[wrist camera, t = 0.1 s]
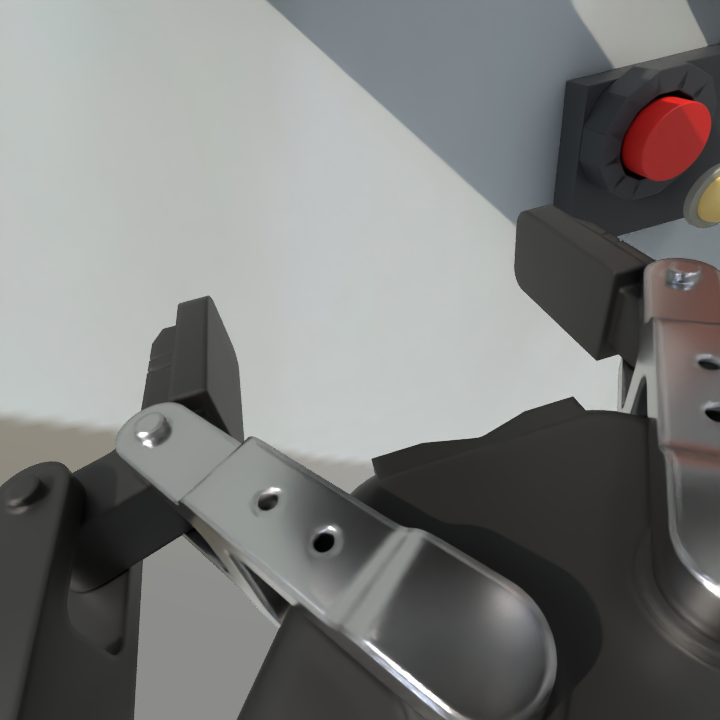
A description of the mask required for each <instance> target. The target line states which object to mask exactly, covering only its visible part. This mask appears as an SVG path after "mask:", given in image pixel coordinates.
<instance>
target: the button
mask: <svg viewBox="0 0 720 720" xmlns="http://www.w3.org/2000/svg"><path fill="white" fill-rule="evenodd" d="M710 130H711V116H710V112H709V110H708V109H707V108H706V106H705V105H703V104H702V103H699V102H696V101H691V100H687V99H682V98H678V97H673V96H667V97H662V98H659V99H657V100H655V101H653V102H651V103H650V104H648V105H647V106H646V107H644V108H643V109H642V110H641V111H640V112H639V113H638V114H637V115H636V117H635V118H634V119H633V121H632V123H631V124H630V126H629V128H628V129H627V131H626V133H625V136H624V139H623V143H622V149H621V154H622V160H623V163H624V165H625V166H626V167H627V168H628V169H629V170H630V171H632V172H634V173H637V174H639V175H641V176H644V177H646V178H648V179H651V180H654V181H665V180H669V179H672V178H674V177H676V176H677V175H679V174H681V173H682V172H683V171H685V170H686V169H687V168H688V167H689V166H690V165H691V164H692V163H693V162H694V161H695V160H696V159H697V157H698V156H699V155H700V153H701V151H702V150H703V148H704V146H705V144H706V142H707V140H708V137H709V134H710Z"/></svg>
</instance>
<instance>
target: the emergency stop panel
mask: <svg viewBox="0 0 720 720" xmlns="http://www.w3.org/2000/svg"><path fill="white" fill-rule="evenodd" d="M667 96H673V97H678V98H682V99H687V100H691V101H696V102H699V103H702V104H703V105H705V106H706V108H707V109H708V110H709V112H710V116H711V130H710V134H709V137H708V140H707V142H706V144H705V146H704V148H703V150H702V151H701V153H700V155H699V156H698V157H697V159H696V160H695V161H694V162H693V163H692V164H691V165H690V166H689V167H688V168H687V169H686V170H685V171H683V172H682V173H681V174H679V175H677V176H676V177H674V178H672V179H669V180H665V181H654V180H651V179H648V178H646V177H644V176H641V175H639V174H637V173H634V172H632V171H630V170H629V169H628V168H627V167H626V166H625V165H624V163H623V160H622V154H621V149H622V143H623V139H624V136H625V133H626V131H627V129H628V128H629V126H630V124H631V123H632V121H633V119H634V118H635V117H636V115H637V114H638V113H639V112H640V111H641V110H642V109H643V108H644V107H646V106H647V105H648V104H650V103H651V102H653V101H655V100H657V99H659V98H662V97H667ZM719 163H720V44H716V45H711V46H707V47H703V48H699V49H695V50H691V51H687V52H683V53H679V54H675V55H671V56H667V57H663V58H659V59H655V60H650V61H646V62H642V63H638V64H634V65H630V66H626V67H622V68H618V69H614V70H610V71H606V72H602V73H598V74H594V75H589V76H585V77H581V78H577V79H573V80H569V81H567V84H566V93H565V102H564V112H563V121H562V130H561V139H560V149H559V158H558V167H557V176H556V186H555V195H554V204H553V205H554V206H556V207H557V208H559V209H560V210H562V211H564V212H565V213H567V214H568V215H570V216H572V217H573V218H577V219H580V220H584V221H587V222H591V223H594V224H596V225H597V226H599V227H601V228H602V229H604V230H606V231H607V232H608V234H612V235H614V236H620V235H623V234H627V233H630V232H634V231H637V230H641V229H645V228H648V227H652V226H655V225H659V224H663V223H666V222H670V221H673V220H677V219H680V218H684V215H683V206H684V202H685V199H686V196H687V194H688V192H689V191H690V189H691V187H692V186H693V185H694V183H695V182H696V181H697V180H698V179H699V177H700V176H701V175H703V174H704V173H705V172H706V171H707V170H709V169H710V168H712V167H713V166H715V165H717V164H719Z"/></svg>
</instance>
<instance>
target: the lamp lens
mask: <svg viewBox="0 0 720 720" xmlns="http://www.w3.org/2000/svg"><path fill="white" fill-rule="evenodd" d="M683 215H684V218H685V220H686V221H687V222H688V223H689V224H691V225H693V226H696V227H698V228H707V227H711V226H714V225H716V224H718V223H720V163H719V164H717V165H715V166H713V167H712V168H710V169H709V170H707V171H706V172H705V173H704V174H703V175H701V176H700V177H699V179H698V180H697V181H696V182H695V183H694V185H693V186H692V187H691V189H690V191H689V192H688V194H687V196H686V199H685V202H684V206H683Z"/></svg>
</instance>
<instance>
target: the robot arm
mask: <svg viewBox="0 0 720 720" xmlns="http://www.w3.org/2000/svg"><path fill="white" fill-rule="evenodd" d="M514 270H515V276H516V280H517V282H518V284H519V286H520V288H521V289H522V290H523V291H524V292H525V293H526V294H527V295H528V296H529V297H530V298H531V299H533V300H534V301H535V302H536V303H537V304H538V305H539V306H540V307H541V308H542V309H543V310H544V311H545V312H546V313H547V314H548V315H549V316H550V317H551V318H552V319H553V320H555V321H556V322H557V323H558V324H559V325H560V326H561V327H562V328H563V329H564V330H565V331H566V332H567V333H568V334H569V335H570V336H571V337H572V338H573V339H574V340H575V341H576V342H578V343H579V344H580V345H581V346H582V347H583V348H584V349H585V350H586V351H587V352H588V353H589V354H590V355H591V356H592V357H593V358H594V359H595V360H596V361H598V360H601V359H604V358H608V357H611V356H614V355H617V354H619V355H620V356H621V357H622V358H621V362H620V365H619V372H618V402H617V411H607V410H587V411H586V410H585V409H584V408H583V407H582V406H581V405H580V404H579V403H578V401H577V400H576V399H575V398H574V397H570V398H567V399H563V400H560V401H557V402H554V403H550V404H547V405H544V406H541V407H537V408H534V409H531V410H528V411H525V412H523V413H521V414H520V415H518V416H516V417H515V418H513V419H511V420H510V421H508V422H506V423H505V424H503V425H501V426H500V427H498V428H496V429H495V430H493V431H491V432H489V433H488V434H486V435H484V436H482V437H479V438H472V439H461V440H450V441H440V442H429V443H421V444H418V445H415V446H411V447H408V448H405V449H402V450H399V451H395V452H392V453H389V454H386V455H382V456H379V457H376V458H373V459H372V463H373V467H374V471H375V475H374V476H373V477H371V478H370V479H368V480H366V481H365V482H364V483H363V484H361V485H360V486H358V487H357V488H356V489H355V490H354V491H353V492H352V493H351V494H348V493H346V492H345V491H343V490H341V489H340V488H338V487H336V486H335V485H333V484H332V483H330V482H329V481H327V480H325V479H323V478H322V477H320V476H319V475H317V474H315V473H314V472H312V471H311V470H309V469H307V468H306V467H304V466H303V465H301V464H299V463H298V462H296V461H294V460H293V459H291V458H290V457H288V456H286V455H285V454H283V453H281V452H280V451H278V450H277V449H275V448H273V447H272V446H270V445H268V444H267V443H265V442H264V441H262V440H260V439H258V438H256V437H248V438H247V439H246V440H245V441H244V431H243V418H242V404H241V391H240V377H239V366H238V361H237V357H236V354H235V351H234V348H233V345H232V343H231V341H230V338H229V336H228V334H227V332H226V329H225V327H224V325H223V322H222V320H221V318H220V315H219V313H218V311H217V308H216V306H215V304H214V302H213V300H212V298H211V297H210V296H205V297H202V298H198V299H194V300H190V301H187V302H183V303H179V304H178V310H177V319H176V326H172V327H169V328H165V329H163V330H162V331H161V333H160V334H159V335H158V337H157V338H156V340H155V341H154V342H153V344H152V349H151V355H150V360H151V361H149V367H148V371H149V373H147V379H146V385H145V390H144V396H143V402H142V408H141V411H140V412H138V413H137V414H135V415H134V416H133V417H131V418H130V419H129V420H128V421H127V422H126V423H125V424H124V425H123V426H122V428H121V429H120V431H119V432H118V434H117V437H116V439H115V450H113V451H112V452H110V453H109V454H107V455H105V456H104V457H102V458H100V459H98V460H96V461H94V462H92V463H90V464H89V465H87V466H85V467H83V468H81V469H79V470H77V471H75V472H74V473H72V472H71V471H70V470H69V469H68V468H67V467H66V466H65V465H64V464H62V463H59V462H44V463H39V464H36V465H34V466H31V467H28V468H27V469H24V470H23V471H21V472H19V473H17V474H16V475H15V476H13V477H12V478H10V479H9V480H8V481H6V482H5V483H4V484H3V485H2V486H1V487H0V720H134V706H135V689H136V671H137V654H138V635H139V617H140V600H141V583H142V582H141V581H142V564H143V559H144V558H146V557H148V556H149V555H151V554H153V553H154V552H156V551H157V550H159V549H160V548H162V547H164V546H165V545H167V544H168V543H170V542H171V541H173V540H175V539H176V538H178V537H180V536H181V535H183V536H184V537H185V538H186V539H187V540H188V541H189V542H190V543H191V544H192V545H194V547H195V548H197V549H198V550H199V551H200V552H201V553H202V554H203V555H204V556H205V557H206V558H208V559H209V560H210V561H211V562H212V563H213V564H214V565H215V566H216V567H217V568H218V569H219V570H220V571H222V572H223V573H224V574H225V575H226V576H227V577H228V578H229V579H230V580H231V581H232V582H233V583H235V584H236V585H237V586H238V587H239V588H240V590H241V591H242V592H243V593H244V594H245V595H246V596H247V597H248V598H249V599H250V601H251V602H252V603H253V604H254V605H255V606H256V607H257V608H258V609H259V610H260V611H261V612H262V613H263V614H264V615H265V616H266V617H267V618H268V619H269V620H270V621H271V622H272V623H273V624H274V625H276V626H277V627H278V628H279V630H278V632H277V635H276V636H275V639H274V641H273V643H272V645H271V647H270V649H269V652H268V654H267V656H266V658H265V660H264V662H263V664H262V667H261V669H260V671H259V673H258V675H257V677H256V679H255V682H254V684H253V686H252V688H251V690H250V692H249V694H248V697H247V699H246V701H245V703H244V705H243V707H242V709H241V712H240V714H239V716H238V718H237V720H720V271H719V270H718V269H716V268H715V267H713V266H711V265H709V264H707V263H704V262H701V261H697V260H692V259H685V258H668V259H661V260H658V261H655V260H654V259H652V258H650V257H649V256H647V255H645V254H644V253H642V252H640V251H639V250H637V249H635V248H634V247H632V246H630V245H629V244H627V243H625V242H624V241H620V240H619V238H617V237H616V236H614V235H612V234H608V232H607V231H606V230H604V229H602V228H601V227H599V226H597V225H596V224H594V223H591V222H587V221H584V220H580V219H577V218H573V217H572V216H570V215H568V214H567V213H565V212H564V211H562V210H560V209H559V208H557V207H556V206H554V205H551V204H550V205H545V206H542V207H538V208H534V209H531V210H527V211H523V212H521V213H520V215H519V216H518V219H517V229H516V246H515V264H514Z"/></svg>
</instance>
